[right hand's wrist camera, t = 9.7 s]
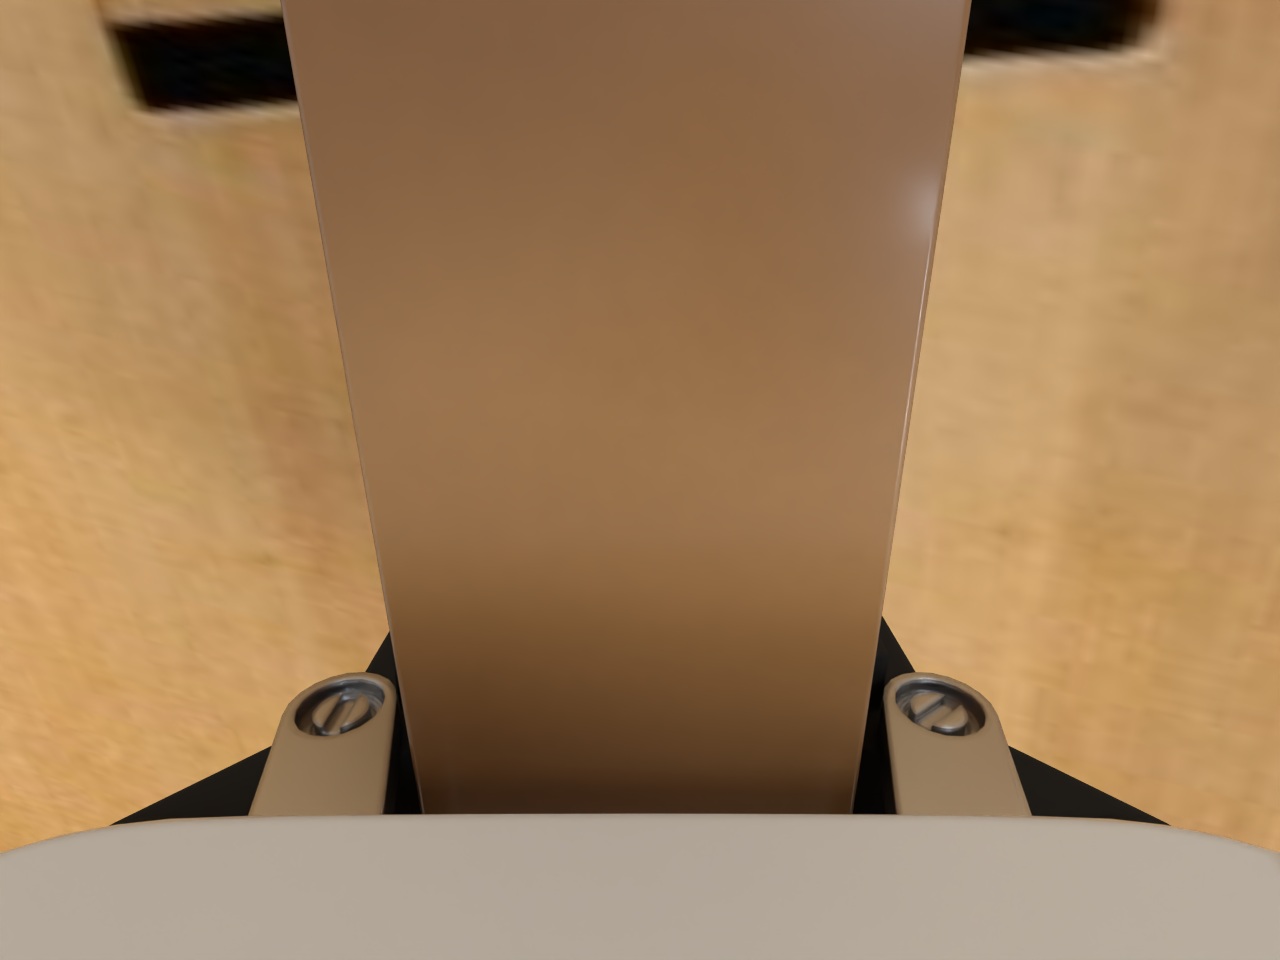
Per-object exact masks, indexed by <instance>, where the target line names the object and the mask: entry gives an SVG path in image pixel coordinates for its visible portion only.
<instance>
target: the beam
mask: <svg viewBox="0 0 1280 960" xmlns="http://www.w3.org/2000/svg"><path fill="white" fill-rule="evenodd" d="M280 1H281V7H282V12H283V18H284V24H285V30H286V35H287V41H288V47H289V53H290V59H291V64H292V70H293V76H294V82H295V87H296V93H297V99H298V105H299V110H300V116H301V122H302V128H303V134H304V139H305V145H306V151H307V157H308V162H309V168H310V174H311V180H312V185H313V191H314V197H315V203H316V209H317V214H318V220H319V226H320V232H321V237H322V243H323V249H324V255H325V260H326V266H327V272H328V278H329V284H330V289H331V295H332V301H333V307H334V312H335V318H336V324H337V330H338V335H339V341H340V347H341V353H342V359H343V364H344V370H345V376H346V382H347V387H348V393H349V399H350V405H351V410H352V416H353V422H354V428H355V434H356V439H357V445H358V451H359V457H360V462H361V468H362V474H363V480H364V485H365V491H366V497H367V503H368V509H369V514H370V520H371V526H372V532H373V537H374V543H375V549H376V555H377V560H378V566H379V572H380V578H381V584H382V589H383V595H384V601H385V607H386V612H387V618H388V624H389V630H390V635H391V641H392V647H393V653H394V658H395V664H396V670H397V676H398V682H399V687H400V693H401V699H402V705H403V710H404V716H405V722H406V728H407V733H408V739H409V745H410V751H411V757H412V762H413V768H414V774H415V780H416V785H417V791H418V797H419V803H420V808H421V814H853V809H854V802H855V795H856V788H857V781H858V774H859V767H860V761H861V754H862V747H863V740H864V733H865V726H866V719H867V713H868V706H869V699H870V692H871V685H872V678H873V671H874V665H875V658H876V651H877V644H878V637H879V630H880V623H881V617H882V610H883V603H884V596H885V589H886V582H887V575H888V569H889V562H890V555H891V548H892V541H893V534H894V527H895V521H896V514H897V507H898V500H899V493H900V486H901V479H902V473H903V466H904V459H905V452H906V445H907V438H908V431H909V425H910V418H911V411H912V404H913V397H914V390H915V383H916V377H917V370H918V363H919V356H920V349H921V342H922V335H923V329H924V322H925V315H926V308H927V301H928V294H929V287H930V281H931V274H932V267H933V260H934V253H935V246H936V239H937V233H938V226H939V219H940V212H941V205H942V198H943V191H944V185H945V178H946V171H947V164H948V157H949V150H950V143H951V137H952V130H953V123H954V116H955V109H956V102H957V95H958V89H959V82H960V75H961V68H962V61H963V54H964V47H965V41H966V34H967V27H968V20H969V13H970V6H971V0H280Z"/></svg>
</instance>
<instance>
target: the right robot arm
mask: <svg viewBox="0 0 1280 960" xmlns="http://www.w3.org/2000/svg"><path fill="white" fill-rule="evenodd" d="M0 960H1280V853H1279V852H1277V851H1273V850H1270V849H1266V848H1263V847H1259V846H1255V845H1252V844H1248V843H1245V842H1241V841H1238V840H1234V839H1231V838H1227V837H1224V836H1220V835H1216V834H1211V833H1205V832H1200V831H1195V830H1189V829H1184V828H1179V827H1173V826H1171V825H1169V824H1167V823H1165V822H1163V821H1161V820H1159V819H1157V818H1155V817H1153V816H1151V815H1149V814H1147V813H1145V812H1143V811H1141V810H1139V809H1137V808H1135V807H1133V806H1131V805H1129V804H1126V803H1124V802H1122V801H1120V800H1118V799H1116V798H1114V797H1112V796H1110V795H1108V794H1106V793H1104V792H1102V791H1100V790H1098V789H1096V788H1094V787H1092V786H1090V785H1088V784H1086V783H1084V782H1082V781H1080V780H1078V779H1075V778H1073V777H1071V776H1069V775H1067V774H1065V773H1063V772H1061V771H1059V770H1057V769H1055V768H1053V767H1051V766H1049V765H1047V764H1045V763H1043V762H1041V761H1039V760H1037V759H1035V758H1033V757H1031V756H1029V755H1027V754H1025V753H1022V752H1020V751H1018V750H1016V749H1014V748H1012V747H1010V746H1008V744H1007V741H1006V738H1005V735H1004V732H1003V729H1002V726H1001V723H1000V720H999V717H998V715H997V713H996V711H995V710H994V708H993V706H992V704H991V703H990V702H989V701H988V700H987V699H986V698H985V697H984V696H983V695H982V694H981V693H979V692H978V691H976V690H974V689H973V688H971V687H970V686H968V685H966V684H965V683H962V682H960V681H957V680H955V679H952V678H950V677H947V676H942V675H938V674H934V673H923V672H915V671H914V669H913V667H912V665H911V664H910V662H909V660H908V659H907V657H906V655H905V654H904V652H903V650H902V649H901V647H900V645H899V644H898V642H897V640H896V638H895V637H894V635H893V633H892V632H891V630H890V628H889V627H888V625H887V623H886V622H885V620H884V618H883V617H881V623H880V630H879V637H878V644H877V651H876V658H875V665H874V671H873V678H872V685H871V692H870V699H869V706H868V713H867V719H866V726H865V733H864V740H863V747H862V754H861V761H860V767H859V774H858V781H857V788H856V795H855V802H854V809H853V814H421V808H420V803H419V797H418V791H417V785H416V780H415V774H414V768H413V762H412V757H411V751H410V745H409V739H408V733H407V728H406V722H405V716H404V710H403V705H402V699H401V693H400V687H399V682H398V676H397V670H396V664H395V658H394V653H393V647H392V641H391V635H390V631H389V633H388V635H387V636H386V638H385V640H384V641H383V643H382V645H381V646H380V648H379V650H378V651H377V653H376V655H375V656H374V658H373V660H372V662H371V663H370V665H369V667H368V668H367V670H366V672H357V673H346V674H342V675H338V676H333V677H330V678H328V679H325V680H323V681H320V682H318V683H315V684H314V685H312V686H310V687H309V688H307V689H306V690H304V691H302V692H301V693H299V694H298V695H297V696H296V697H295V698H294V699H293V700H292V701H291V702H290V703H289V704H288V706H287V708H286V710H285V711H284V713H283V715H282V717H281V720H280V723H279V726H278V729H277V732H276V735H275V738H274V741H273V744H272V746H270V747H268V748H266V749H264V750H262V751H260V752H258V753H256V754H254V755H252V756H250V757H248V758H246V759H244V760H242V761H240V762H238V763H236V764H234V765H232V766H230V767H227V768H225V769H223V770H221V771H219V772H217V773H215V774H213V775H211V776H209V777H207V778H205V779H203V780H201V781H199V782H197V783H195V784H193V785H191V786H189V787H187V788H185V789H183V790H181V791H178V792H176V793H174V794H172V795H170V796H168V797H166V798H164V799H162V800H160V801H158V802H156V803H154V804H152V805H150V806H148V807H146V808H144V809H142V810H140V811H138V812H136V813H134V814H132V815H129V816H127V817H125V818H123V819H121V820H119V821H117V822H115V823H113V824H112V825H110V826H107V827H101V828H96V829H91V830H85V831H80V832H75V833H69V834H64V835H60V836H56V837H53V838H49V839H46V840H42V841H39V842H35V843H32V844H28V845H25V846H21V847H17V848H14V849H10V850H7V851H3V852H1V853H0Z"/></svg>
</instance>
